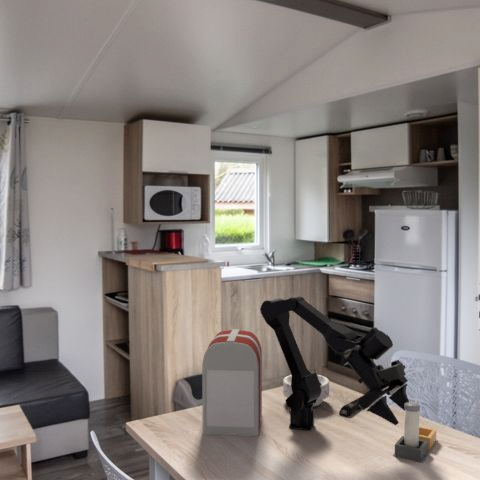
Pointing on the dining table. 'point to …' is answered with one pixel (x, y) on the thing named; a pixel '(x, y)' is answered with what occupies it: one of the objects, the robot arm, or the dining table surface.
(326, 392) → the paper bowls
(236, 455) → the dining table surface
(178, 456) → the dining table surface
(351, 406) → the electric trimmer
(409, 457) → the two-tone square organizer tray
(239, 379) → the arched-top grey box
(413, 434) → the plug
